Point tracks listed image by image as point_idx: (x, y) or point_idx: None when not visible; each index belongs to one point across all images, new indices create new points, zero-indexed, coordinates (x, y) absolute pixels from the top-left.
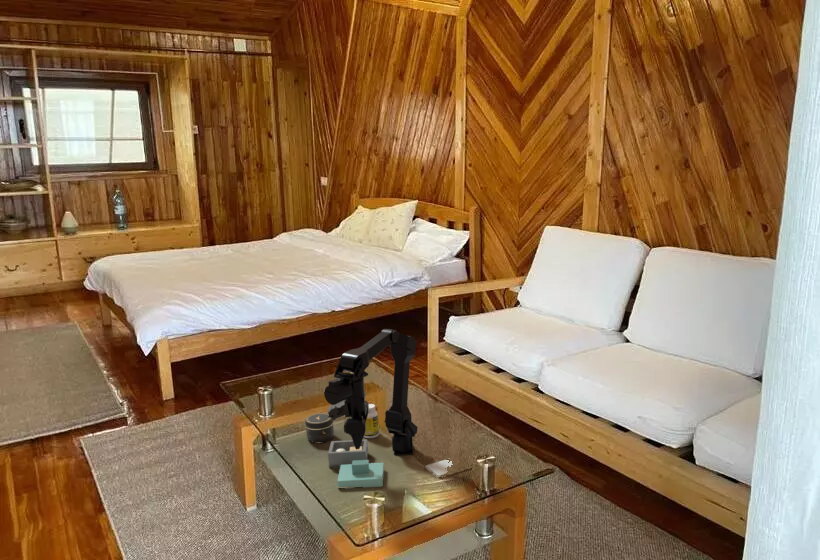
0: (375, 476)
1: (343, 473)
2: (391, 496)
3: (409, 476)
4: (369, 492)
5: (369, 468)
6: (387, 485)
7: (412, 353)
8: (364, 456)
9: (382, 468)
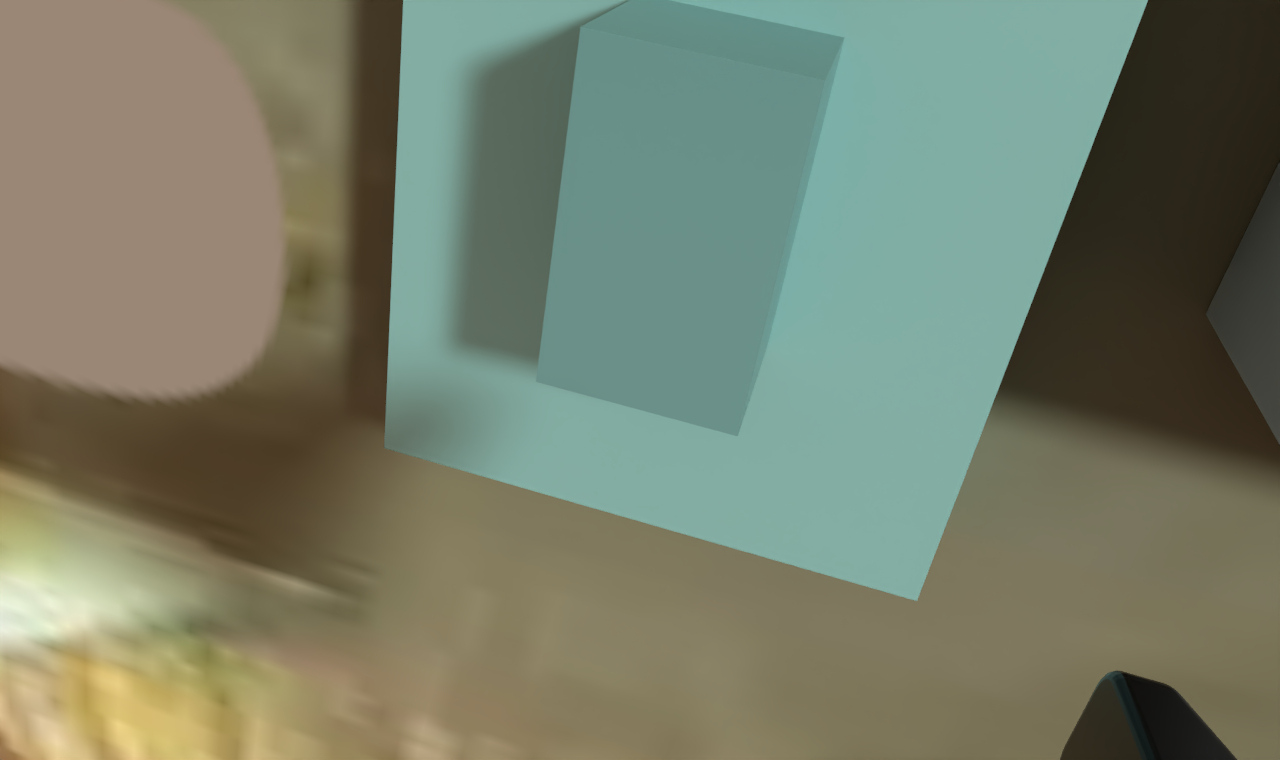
0: (463, 378)
1: None
2: (193, 422)
3: (615, 722)
4: (307, 189)
5: (777, 351)
6: None
7: None
8: (1269, 378)
9: (701, 535)
